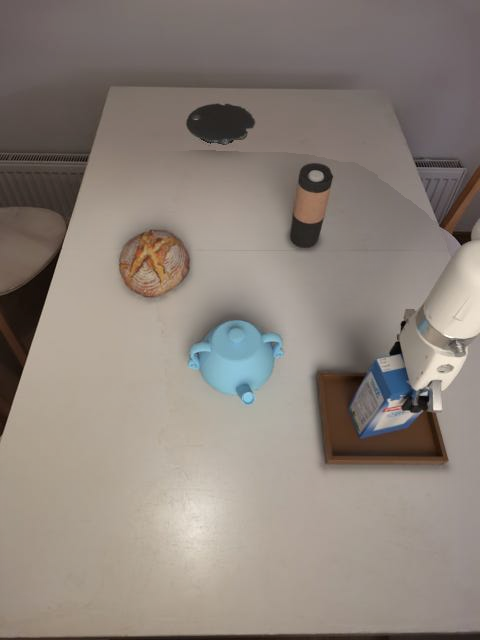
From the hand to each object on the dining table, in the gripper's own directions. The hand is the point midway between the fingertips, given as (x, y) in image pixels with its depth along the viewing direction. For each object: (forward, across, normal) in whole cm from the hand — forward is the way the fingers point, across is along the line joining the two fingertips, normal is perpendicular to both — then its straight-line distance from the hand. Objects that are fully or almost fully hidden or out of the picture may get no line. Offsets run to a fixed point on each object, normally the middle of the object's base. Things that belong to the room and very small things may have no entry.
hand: (404, 381), depth 70 cm
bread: (+17, +38, +47) cm, 63 cm away
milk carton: (+16, 0, 0) cm, 16 cm away
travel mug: (+17, +49, +10) cm, 53 cm away
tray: (+17, 0, 0) cm, 17 cm away
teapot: (+17, +9, +27) cm, 33 cm away
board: (+17, +94, +33) cm, 101 cm away
